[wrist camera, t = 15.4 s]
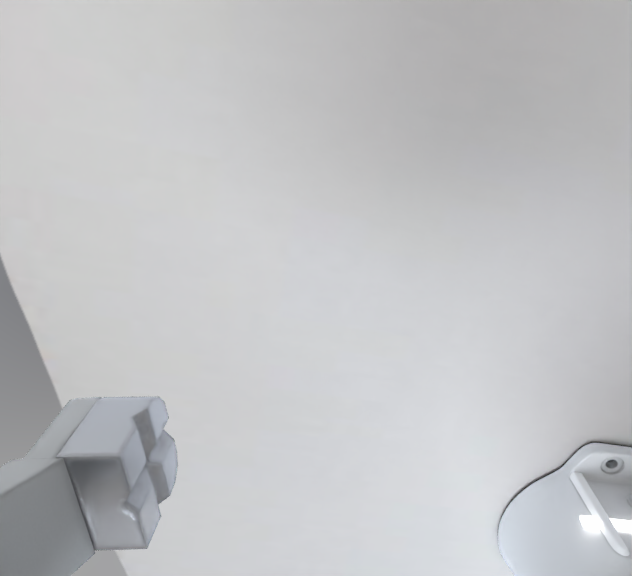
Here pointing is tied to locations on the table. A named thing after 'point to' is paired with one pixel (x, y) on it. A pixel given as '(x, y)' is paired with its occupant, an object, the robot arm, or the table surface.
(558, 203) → the table surface
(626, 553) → the robot arm
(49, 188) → the table surface
